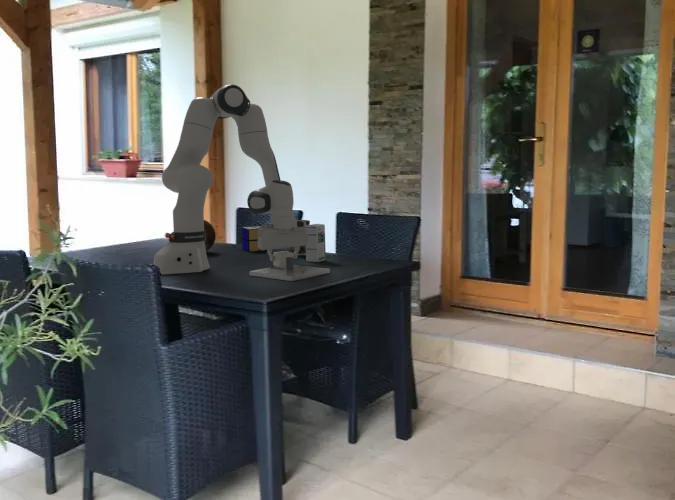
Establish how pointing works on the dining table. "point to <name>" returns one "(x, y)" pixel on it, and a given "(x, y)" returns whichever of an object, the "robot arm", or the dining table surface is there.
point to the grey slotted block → (281, 257)
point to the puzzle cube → (250, 239)
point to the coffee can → (302, 248)
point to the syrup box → (315, 243)
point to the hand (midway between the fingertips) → (283, 259)
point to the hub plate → (289, 271)
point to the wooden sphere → (209, 235)
